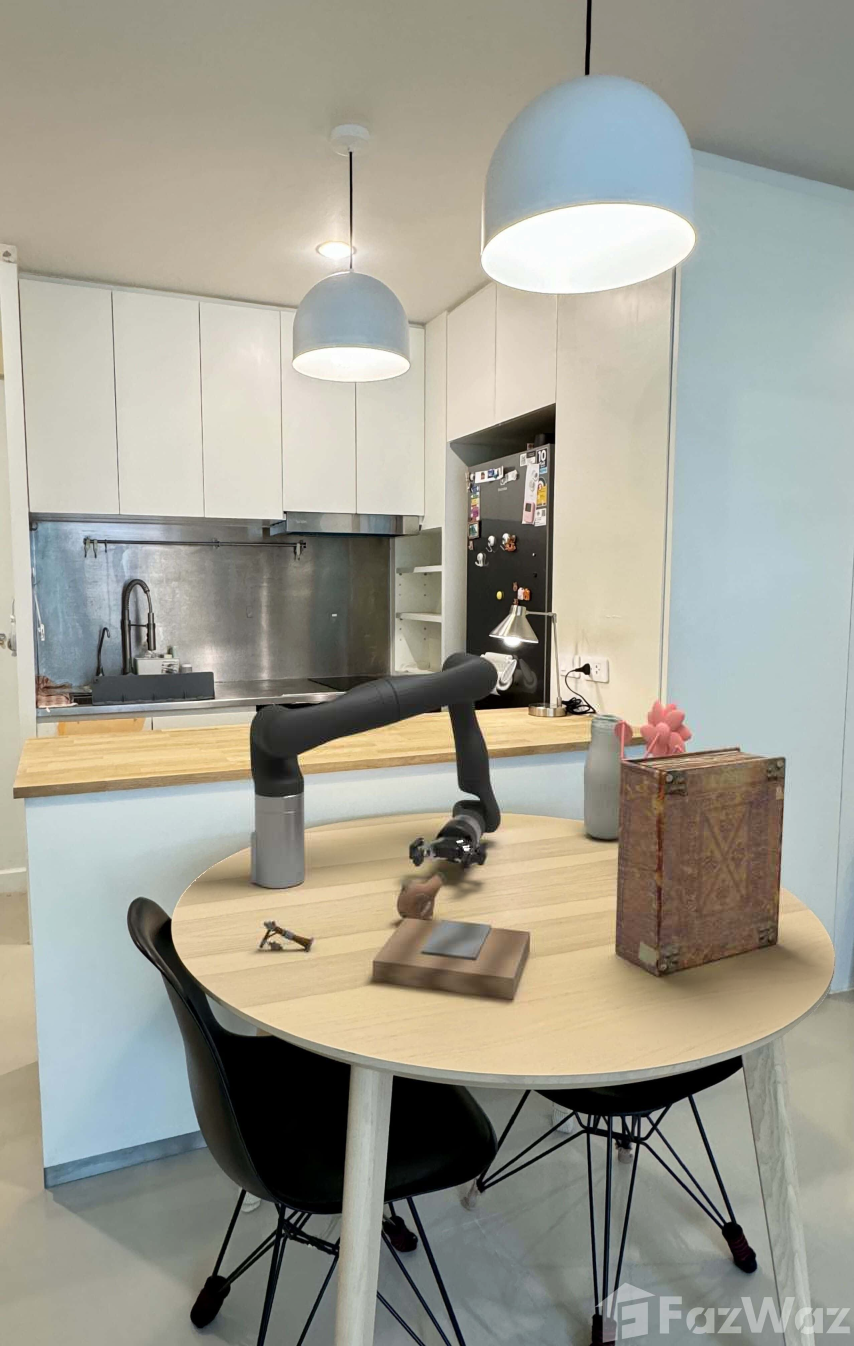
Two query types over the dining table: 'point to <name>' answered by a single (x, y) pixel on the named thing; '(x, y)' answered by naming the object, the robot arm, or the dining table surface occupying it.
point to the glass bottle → (603, 779)
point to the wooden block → (454, 957)
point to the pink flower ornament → (658, 731)
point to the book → (698, 857)
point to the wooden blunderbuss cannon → (287, 934)
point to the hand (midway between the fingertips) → (439, 863)
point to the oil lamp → (419, 897)
